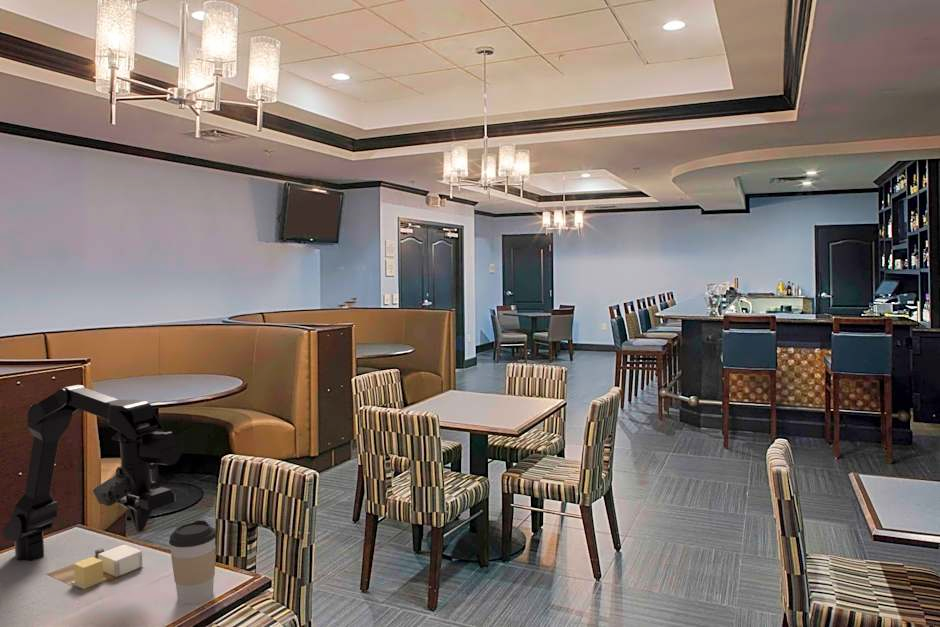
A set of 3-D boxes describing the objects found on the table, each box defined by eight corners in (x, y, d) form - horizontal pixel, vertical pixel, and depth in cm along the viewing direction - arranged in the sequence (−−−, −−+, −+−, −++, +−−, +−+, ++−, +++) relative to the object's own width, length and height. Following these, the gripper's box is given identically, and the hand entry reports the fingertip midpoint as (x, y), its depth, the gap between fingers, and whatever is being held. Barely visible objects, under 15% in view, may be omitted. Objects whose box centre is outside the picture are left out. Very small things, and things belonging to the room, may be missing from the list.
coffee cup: (202, 609, 133) (198, 536, 132) (162, 605, 135) (158, 533, 134) (227, 587, 142) (224, 519, 141) (189, 584, 144) (186, 516, 143)
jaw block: (74, 581, 143) (73, 563, 143) (93, 574, 147) (92, 556, 146) (84, 586, 141) (83, 567, 141) (103, 578, 145) (102, 560, 144)
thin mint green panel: (71, 583, 143) (71, 582, 143) (94, 574, 147) (94, 572, 147) (83, 589, 140) (83, 587, 140) (107, 579, 145) (107, 578, 145)
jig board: (46, 578, 148) (45, 563, 148) (104, 556, 159) (104, 542, 159) (85, 596, 139) (84, 580, 139) (144, 572, 150) (143, 557, 150)
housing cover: (98, 569, 149) (98, 553, 149) (124, 559, 154) (124, 544, 154) (116, 576, 145) (115, 560, 145) (142, 566, 150) (141, 550, 150)
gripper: (74, 464, 142) (78, 535, 143) (124, 477, 132) (128, 554, 133) (125, 451, 151) (129, 518, 152) (175, 463, 141) (178, 534, 142)
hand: (139, 531), depth 144 cm, fingers closed
